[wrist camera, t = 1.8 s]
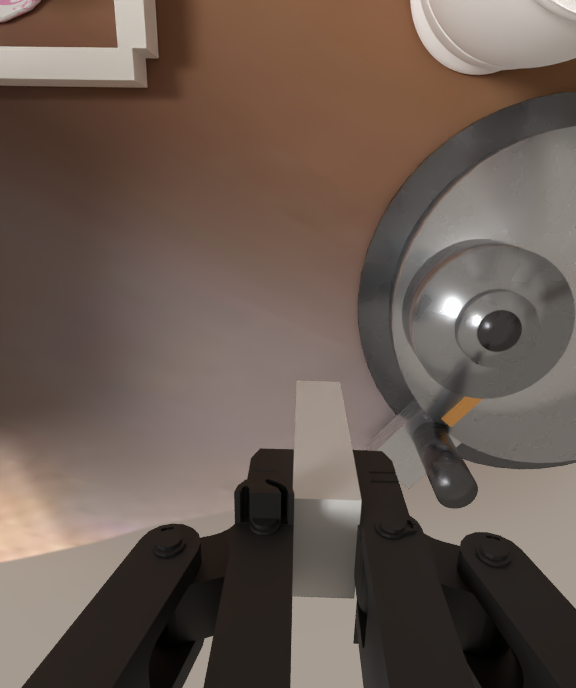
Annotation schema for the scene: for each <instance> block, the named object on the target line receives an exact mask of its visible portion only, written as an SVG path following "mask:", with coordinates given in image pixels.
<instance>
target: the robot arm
mask: <svg viewBox="0 0 576 688" xmlns="http://www.w3.org/2000/svg"><path fill="white" fill-rule="evenodd" d="M234 499H235V524H234V525H233V526H232V527H231V528H230V529H228V530H226V531H224V532H222V533H219V534H215V535H212V536H207V537H202V538H200V537H199V534H198V533H197V532H196V531H195V530H194V529H193V528H191V527H188V526H186V525H183V524H168V525H163V526H159V527H157V528H155V529H153V530H151V531H149V532H148V533H147V534H146V535H144V536H143V537H142V538H141V539H140V540H139V542H138V543H137V544H136V546H135V547H134V548H133V549H132V550H131V552H130V553H129V554H128V556H127V557H126V558H125V559H124V561H123V562H122V563H121V564H120V566H119V567H118V568H117V569H116V570H115V572H114V573H113V574H112V575H111V577H110V578H109V579H108V580H107V582H106V583H105V584H104V585H103V587H102V588H101V589H100V590H99V592H98V593H97V594H96V595H95V597H94V598H93V599H92V600H91V602H90V603H89V604H88V605H87V607H86V608H85V609H84V610H83V612H82V613H81V614H80V615H79V616H78V618H77V619H76V620H75V621H74V623H73V624H72V625H71V626H70V628H69V629H68V630H67V631H66V633H65V634H64V635H63V636H62V638H61V639H60V640H59V641H58V643H57V644H56V645H55V646H54V648H53V649H52V650H51V651H50V653H49V654H48V655H47V657H46V658H45V659H44V660H43V661H42V663H41V664H40V665H39V667H38V668H37V669H36V670H35V671H34V673H33V674H32V675H31V676H30V678H29V679H28V680H27V681H26V683H25V684H24V685H23V686H22V688H182V687H183V685H184V683H185V681H186V679H187V677H188V675H189V672H190V671H191V668H192V667H193V664H194V662H195V660H196V658H197V656H198V654H199V652H200V650H201V648H202V646H203V642H204V638H207V637H210V636H213V641H212V647H211V652H210V657H209V662H208V667H207V672H206V678H205V683H204V688H290V673H291V628H292V627H291V626H292V596H301V597H329V598H354V593H355V587H356V595H357V606H356V619H355V632H354V643H356V644H358V643H359V652H360V659H361V669H362V678H363V686H364V688H576V609H575V608H574V607H573V606H572V604H571V603H570V602H569V601H568V600H567V599H566V598H565V597H564V596H563V595H562V593H561V592H560V591H559V590H558V589H557V588H556V587H555V586H554V585H553V584H552V583H551V581H550V580H548V578H547V577H546V576H545V575H544V574H543V573H542V572H541V571H540V569H539V568H538V567H537V566H536V565H535V564H534V563H533V562H532V561H531V560H530V559H529V557H528V556H527V555H526V554H525V553H524V552H523V551H522V550H521V549H520V548H519V547H518V546H516V545H515V544H514V543H513V542H512V541H510V540H507V539H505V538H503V537H501V536H499V535H495V534H491V533H487V532H486V533H484V532H479V533H478V532H475V533H472V534H470V535H467V536H465V537H464V539H463V540H462V541H461V545H460V546H457V545H454V544H450V543H446V542H442V541H439V540H436V539H434V538H431V537H430V536H427V535H426V534H424V533H423V530H422V528H421V526H420V525H419V523H418V522H417V521H416V520H415V519H414V518H412V517H411V516H410V515H409V513H408V510H407V507H406V503H405V501H404V498H403V494H402V491H401V488H400V484H399V481H398V478H397V475H396V472H395V468H394V465H393V462H392V460H391V459H390V458H389V457H388V456H387V455H386V454H385V453H383V452H382V451H367V450H352V445H351V439H350V434H349V428H348V423H347V417H346V412H345V406H344V401H343V395H342V390H341V384H340V382H335V381H297V380H296V405H295V435H294V450H290V449H259V450H258V451H257V452H256V454H255V455H254V456H253V457H252V458H251V462H250V468H249V473H248V479H247V480H245V481H243V482H242V483H241V484H239V485H238V486H237V488H236V490H235V492H234Z"/></svg>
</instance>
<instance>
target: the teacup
mask: <svg viewBox="0 0 576 688" xmlns="http://www.w3.org/2000/svg"><path fill="white" fill-rule="evenodd" d="M40 1H41V0H0V22H6V21H8V20H10V19H13V18H15V17H17V16H20V15H22V14H24V13H26V12H29V11H31V10H32V9H33V8H34V7H35V6H36V5H37V4H38V3H39V2H40Z"/></svg>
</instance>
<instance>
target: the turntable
mask: <svg viewBox="0 0 576 688" xmlns="http://www.w3.org/2000/svg"><path fill="white" fill-rule="evenodd" d="M471 239H492V240H497V241H501V242H505V243H508V244H511V245H514V246H517V247H520V248H523V249H526V250H529V251H531V252H534V253H537V254H539V255H540V256H542V257H544V258H546V259H547V260H548V261H550V262H551V263H552V264H554V265H555V266H556V267H557V268H558V269H559V271H560V272H561V273H562V274H563V276H564V277H565V279H566V280H567V282H568V284H569V286H570V288H571V291H572V295H573V298H574V304H575V323H574V329H573V333H572V336H571V339H570V342H569V344H568V346H567V349H566V350H565V352H564V354H563V355H562V357H561V358H560V360H559V361H558V362H557V364H556V365H555V366H554V367H553V368H552V369H551V370H550V371H549V373H547V374H546V375H545V376H544V377H543V378H542V379H540V380H539V381H537V382H536V383H534V384H533V385H531V386H530V387H528V388H526V389H524V390H522V391H519V392H517V393H514V394H512V395H508V396H504V397H499V398H491V399H479V398H470V397H466V396H462V395H459V394H456V393H453V392H451V391H449V390H447V389H445V388H444V387H443V386H441V385H440V384H438V383H437V382H436V381H435V380H434V379H433V378H432V377H431V376H430V375H429V374H428V373H427V371H426V370H425V369H424V367H423V365H422V364H421V362H420V361H419V359H418V358H417V356H416V354H415V353H414V351H413V350H412V348H411V346H410V345H409V343H408V341H407V339H406V336H405V333H404V329H403V324H402V306H403V300H404V296H405V293H406V290H407V288H408V286H409V283H410V282H411V280H412V278H413V277H414V275H415V273H416V272H417V271H418V270H419V268H420V267H421V266H422V265H423V264H424V263H425V262H426V261H427V260H428V259H429V258H431V257H432V256H433V255H434V254H436V253H437V252H439V251H441V250H442V249H444V248H446V247H448V246H450V245H452V244H455V243H458V242H462V241H466V240H471ZM389 330H390V338H391V343H392V347H393V351H394V355H395V358H396V361H397V363H398V366H399V368H400V370H401V373H402V375H403V377H404V379H405V381H406V383H407V385H408V387H409V389H410V391H411V392H412V394H413V395H414V397H415V399H414V400H412V401H411V402H410V403H409V404H408V405H407V406H406V407H405V408H404V409H403V410H402V411H401V412H400V413H399V414H398V415H397V416H396V417H394V418H393V419H392V420H391V421H390V422H389V423H388V424H387V425H386V426H385V427H384V428H383V429H382V430H381V431H380V432H379V433H377V434H376V435H375V436H374V437H373V438H372V439H371V440H370V441H369V442H368V443H367V444H366V446H367V450H368V451H382V452H383V453H385V454H386V455H387V456H388V457H389V458H390V459H391V460H392V462H393V465H394V468H395V472H396V475H397V478H398V481H399V482H401V483H402V484H403V485H404V486H406V487H407V488H408V489H410V488H411V487H412V486H413V485H414V484H415V483H416V482H418V480H420V479H421V478H422V477H423V476H424V475H426V474H427V476H428V478H429V481H430V483H431V485H432V488H433V490H434V492H435V495H436V497H437V499H438V501H439V502H440V503H441V504H442V505H444V506H445V507H448V508H461V507H465V506H467V505H468V504H470V503H471V502H472V501H473V500H474V499H475V497H476V495H477V492H478V487H477V484H476V482H475V480H474V478H473V476H472V475H471V473H470V471H469V469H468V468H467V466H466V464H465V462H464V461H463V459H462V457H461V455H460V454H459V452H458V450H457V448H456V447H457V446H459V445H460V444H461V443H463V444H465V445H467V446H470V447H472V448H474V449H476V450H478V451H480V452H483V453H486V454H489V455H492V456H495V457H498V458H503V459H508V460H513V461H519V462H531V463H555V462H564V461H572V460H576V126H573V127H567V128H562V129H557V130H552V131H546V132H541V133H537V134H534V135H531V136H528V137H525V138H522V139H519V140H516V141H513V142H511V143H509V144H507V145H505V146H503V147H501V148H499V149H496V150H494V151H492V152H491V153H489V154H487V155H486V156H484V157H483V158H481V159H479V160H478V161H476V162H475V163H473V164H472V165H470V166H469V167H468V168H466V169H465V170H464V171H463V172H461V173H460V174H459V175H458V176H457V177H455V178H454V179H453V180H452V181H450V182H449V184H448V185H447V186H446V187H445V188H444V189H443V190H442V191H441V192H440V193H439V194H438V195H437V196H436V197H435V198H434V199H433V200H432V202H431V203H430V204H429V206H428V207H427V208H426V210H425V211H424V212H423V214H422V215H421V216H420V217H419V219H418V221H417V222H416V224H415V226H414V227H413V229H412V231H411V233H410V234H409V236H408V238H407V240H406V242H405V244H404V247H403V249H402V251H401V254H400V256H399V258H398V261H397V265H396V268H395V272H394V275H393V279H392V284H391V290H390V297H389Z"/></svg>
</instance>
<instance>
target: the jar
mask: <svg viewBox="0 0 576 688" xmlns="http://www.w3.org/2000/svg"><path fill="white" fill-rule="evenodd" d="M410 3H411V12H412V18H413V22H414V25H415V28H416V31H417V33H418V36H419V38H420V39H421V41H422V43H423V45H424V46H425V48H426V49H427V50H428V51H429V53H430V54H431V55H432V56H433V57H434V58H435V59H436V60H437V61H439V62H440V63H441V64H443V65H444V66H446V67H448V68H450V69H452V70H454V71H457V72H460V73H464V74H470V75H484V74H490V73H495V72H498V71H501V70H512V69H520V68H536V67H543V66H549V65H553V64H558V63H561V62H565V61H568V60H571V59H574V58H576V0H410Z"/></svg>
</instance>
